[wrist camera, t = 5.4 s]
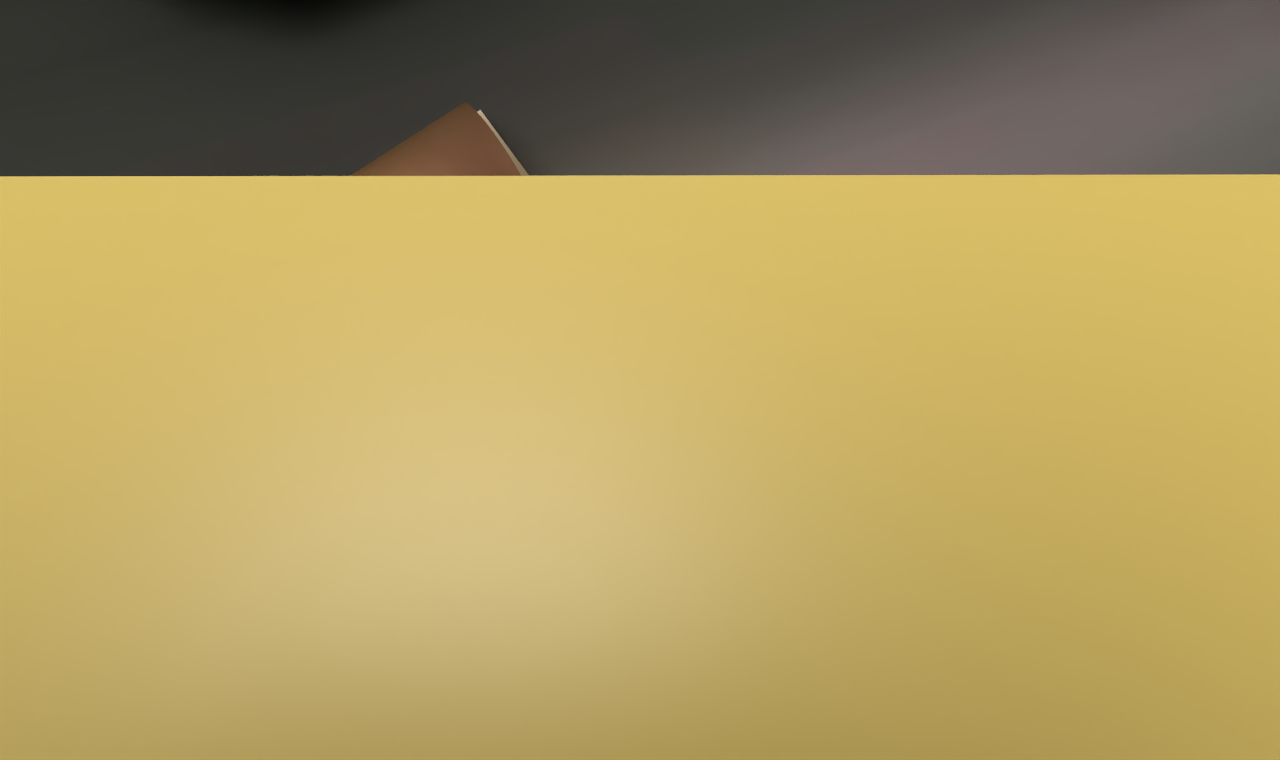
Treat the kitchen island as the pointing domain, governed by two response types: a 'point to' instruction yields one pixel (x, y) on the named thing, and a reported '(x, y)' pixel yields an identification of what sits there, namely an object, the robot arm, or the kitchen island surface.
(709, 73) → the kitchen island surface
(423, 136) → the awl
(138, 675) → the tall mustard yellow pillar
